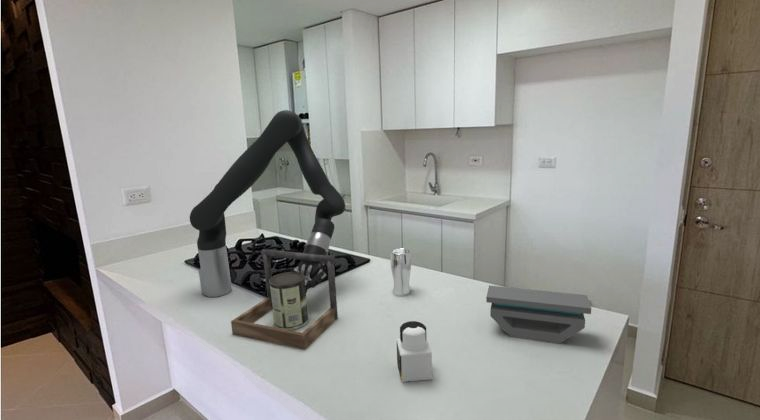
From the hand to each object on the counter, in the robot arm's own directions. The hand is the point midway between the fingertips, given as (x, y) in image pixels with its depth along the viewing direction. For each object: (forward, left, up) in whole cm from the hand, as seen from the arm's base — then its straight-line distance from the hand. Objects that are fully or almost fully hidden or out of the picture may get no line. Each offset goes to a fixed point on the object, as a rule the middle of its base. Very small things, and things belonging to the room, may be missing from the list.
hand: (299, 298), depth 122 cm
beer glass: (+29, +20, -5) cm, 35 cm away
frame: (-1, -7, -5) cm, 9 cm away
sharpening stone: (+69, -1, -5) cm, 69 cm away
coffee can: (-1, -5, -5) cm, 8 cm away
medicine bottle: (+39, -23, -5) cm, 46 cm away
